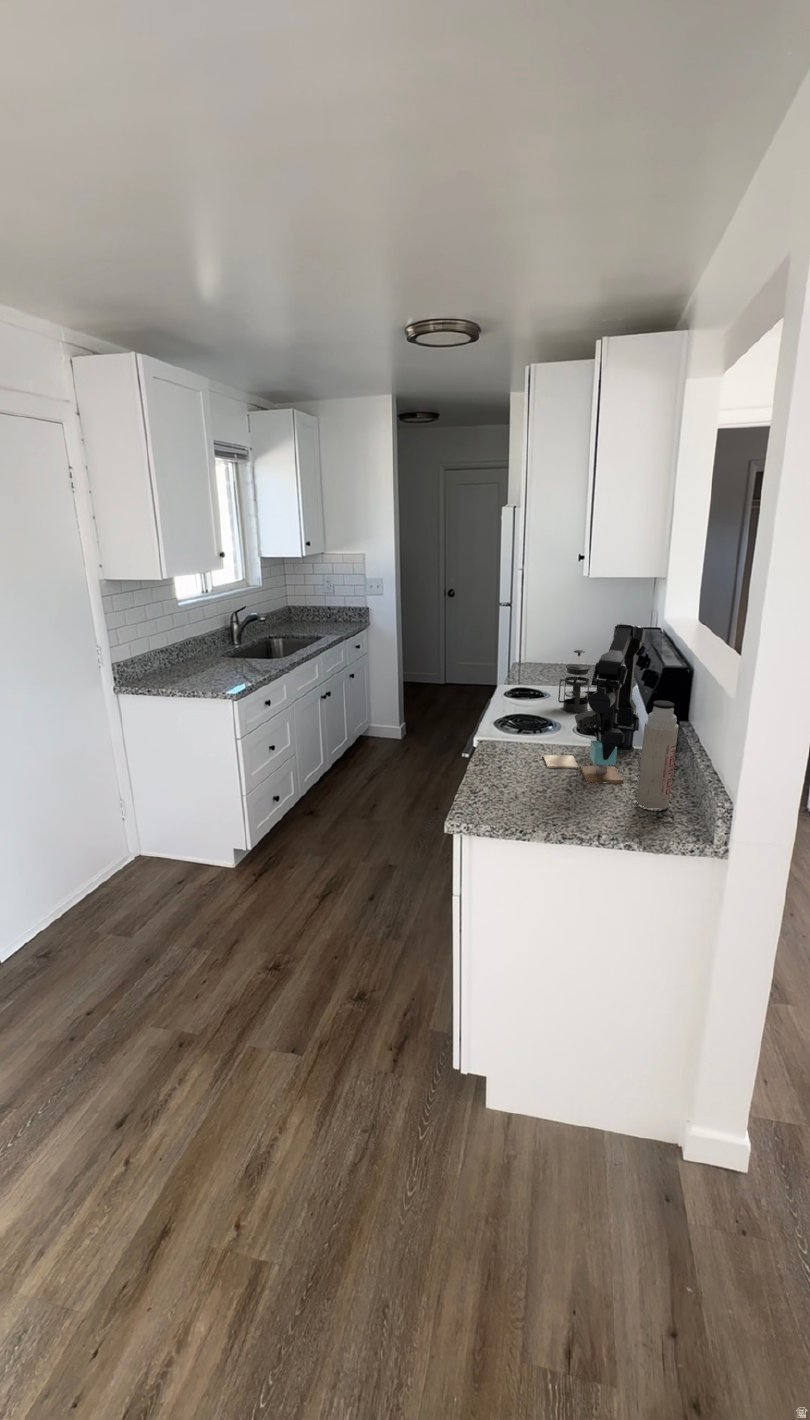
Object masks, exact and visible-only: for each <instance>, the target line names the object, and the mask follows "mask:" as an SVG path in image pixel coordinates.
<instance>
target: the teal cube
mask: <svg viewBox="0 0 810 1420" xmlns="http://www.w3.org/2000/svg"><path fill="white" fill-rule="evenodd" d="M589 747H590V748H589V758H590V760H591V761H592V763H593V765H597V764H601V765H607V766H608V765H609V766H611V765H612V766H614V765H615V766H616V764H617V753H618V749H617V747H615V749H614V750H613V752H612V753H611V755H610V757H609V758H608V760H604V759H603V751H602V743H601V742H600V741H597V740H594V739H593V740H590V746H589Z"/></svg>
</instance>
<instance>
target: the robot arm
mask: <svg viewBox="0 0 810 1420" xmlns="http://www.w3.org/2000/svg"><path fill="white" fill-rule="evenodd" d="M645 640H646V630H645V629H644V628H643V627H642V626H637V625H635V624H632V623H617V624H616V625H615V626H614V631H613V637H612V642H611V644H610V646H609V649H608V651H607V652H605V653H603V654H602V655H601V656H600V658H599V659H598V661H596V664H595V666H594V672H593V676H592V680H591V684H590V685H591V686H596V689H595V692H593V693H592V694H591V696H590V697H589V698H588V707H590V710H588V711H586V712H583V713H580V714H575V715H574V719H575V723H576V726H577V728H578V729H579V731H583V730H586V729H588V728H590V729H591V730H592V731H593V732H594V734H595V741H600V742H601V743H602V751H603V759H604V760H608V758H609V757H610V755H611V753H612V752H613V750H614V749H615V747H617V750H634V749H635V747H634V746H633V744H634V736H635V735H634V734H635V732H639V731H640V717H639V715H638V713H637V705H636V703H635V702H634V700H633V692H634V691H633V690H634V689H633V688H634V680H635V668H636V659H637V657H636V655H637V653H638V651H639V650H640V649H641V647H643V643H645Z"/></svg>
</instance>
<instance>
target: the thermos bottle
mask: <svg viewBox="0 0 810 1420" xmlns="http://www.w3.org/2000/svg"><path fill="white" fill-rule="evenodd" d="M652 703H653V704H652V705H653V708H652V711H651V712H650V713H648V715H647V718H648V719H647V720H646V721H645V722H644V726H643V727H644V728H643V737H642V744H641V745H642V747H641V757H640V765H639V775H638V783H637V792H636V793H637V794H636V801H637V802H638V803H639V804H640V805H642V806H644V807H647V808H666V807H668V806H669V807H670V799H671V790H672V783H673V774H674V767H675V759H676V750H677V743H678V735H679V727H680V726H679V725H678V724H677V722H678V719H677V718H678V717H677V716H676V714H674V711H675V709H674V707H675V703H674V702H671V701H668V700H654V701H653V702H652Z"/></svg>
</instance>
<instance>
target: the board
mask: <svg viewBox="0 0 810 1420" xmlns="http://www.w3.org/2000/svg"><path fill="white" fill-rule="evenodd" d="M542 758H543V761H544V763H545V765H546V769H579V765H578V763H577V762H576V759H575V757H574V755H563V754H561V755H560V754H559V755H558V754H557V755H555V754H544V755H543V756H542Z"/></svg>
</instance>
